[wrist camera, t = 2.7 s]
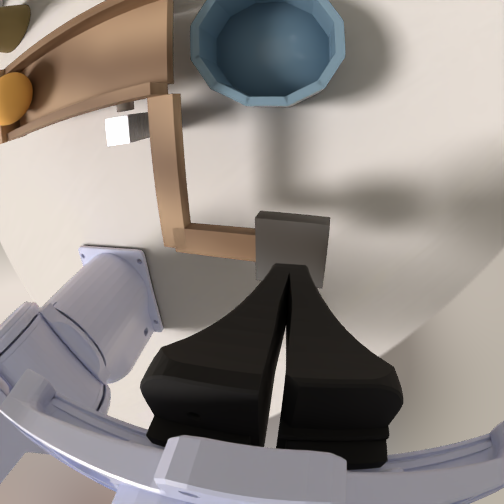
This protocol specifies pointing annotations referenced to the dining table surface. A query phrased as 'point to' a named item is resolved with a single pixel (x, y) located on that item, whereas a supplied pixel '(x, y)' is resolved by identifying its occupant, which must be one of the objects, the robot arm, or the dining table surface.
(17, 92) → the ball
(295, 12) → the cup
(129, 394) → the dining table surface
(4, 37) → the cork
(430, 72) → the dining table surface
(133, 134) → the chute stand
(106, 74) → the tipping chute
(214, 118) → the dining table surface
